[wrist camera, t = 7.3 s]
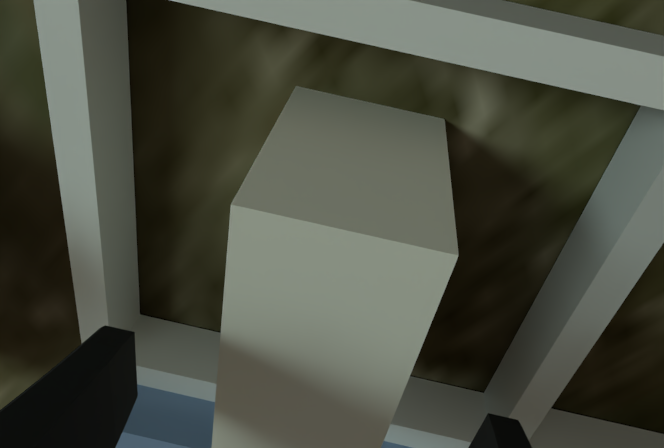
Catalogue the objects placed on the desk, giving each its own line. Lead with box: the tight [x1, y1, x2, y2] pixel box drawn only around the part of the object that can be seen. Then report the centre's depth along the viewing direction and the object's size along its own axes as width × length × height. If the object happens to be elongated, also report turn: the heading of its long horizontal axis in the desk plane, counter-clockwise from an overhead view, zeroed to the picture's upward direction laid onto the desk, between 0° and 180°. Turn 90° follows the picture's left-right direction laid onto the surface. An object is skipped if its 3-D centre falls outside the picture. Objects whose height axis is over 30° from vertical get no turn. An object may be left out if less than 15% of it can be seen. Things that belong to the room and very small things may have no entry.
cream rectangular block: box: [211, 86, 459, 448], centre depth 14 cm, size 8×4×6 cm, turn 170°
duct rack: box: [34, 0, 664, 448], centre depth 15 cm, size 15×29×4 cm, turn 80°
